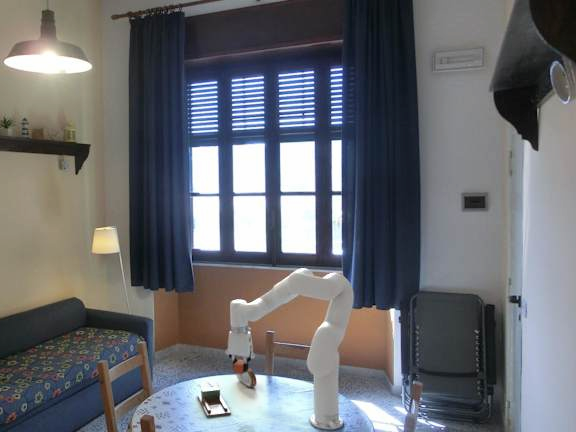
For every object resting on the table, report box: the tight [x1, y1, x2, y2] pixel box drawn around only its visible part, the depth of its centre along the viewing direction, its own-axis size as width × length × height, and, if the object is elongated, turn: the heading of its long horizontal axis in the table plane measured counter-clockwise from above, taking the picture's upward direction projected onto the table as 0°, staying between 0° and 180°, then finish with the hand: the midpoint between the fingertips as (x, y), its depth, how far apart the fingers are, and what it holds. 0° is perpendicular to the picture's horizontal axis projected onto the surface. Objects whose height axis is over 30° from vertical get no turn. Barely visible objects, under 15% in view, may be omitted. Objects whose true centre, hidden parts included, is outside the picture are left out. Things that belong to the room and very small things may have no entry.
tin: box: [235, 367, 257, 389], centre depth 238 cm, size 15×3×8 cm, turn 25°
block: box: [232, 359, 244, 375], centre depth 216 cm, size 6×4×4 cm, turn 150°
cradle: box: [197, 386, 232, 418], centre depth 216 cm, size 20×10×5 cm, turn 11°
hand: (240, 370), depth 216 cm, fingers closed on block, 4 cm apart
